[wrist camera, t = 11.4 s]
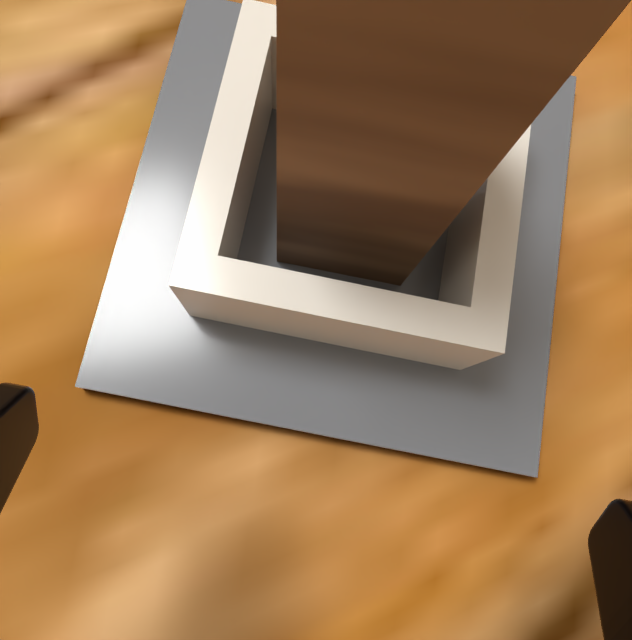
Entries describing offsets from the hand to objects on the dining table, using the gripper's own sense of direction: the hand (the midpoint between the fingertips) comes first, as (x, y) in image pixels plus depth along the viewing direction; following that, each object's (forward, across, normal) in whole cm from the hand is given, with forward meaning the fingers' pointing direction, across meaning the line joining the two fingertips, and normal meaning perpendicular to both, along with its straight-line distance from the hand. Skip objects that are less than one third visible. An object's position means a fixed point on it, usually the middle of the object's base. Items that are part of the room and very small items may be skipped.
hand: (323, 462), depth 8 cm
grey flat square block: (+11, 0, +1) cm, 11 cm away
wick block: (+11, 0, 0) cm, 11 cm away
